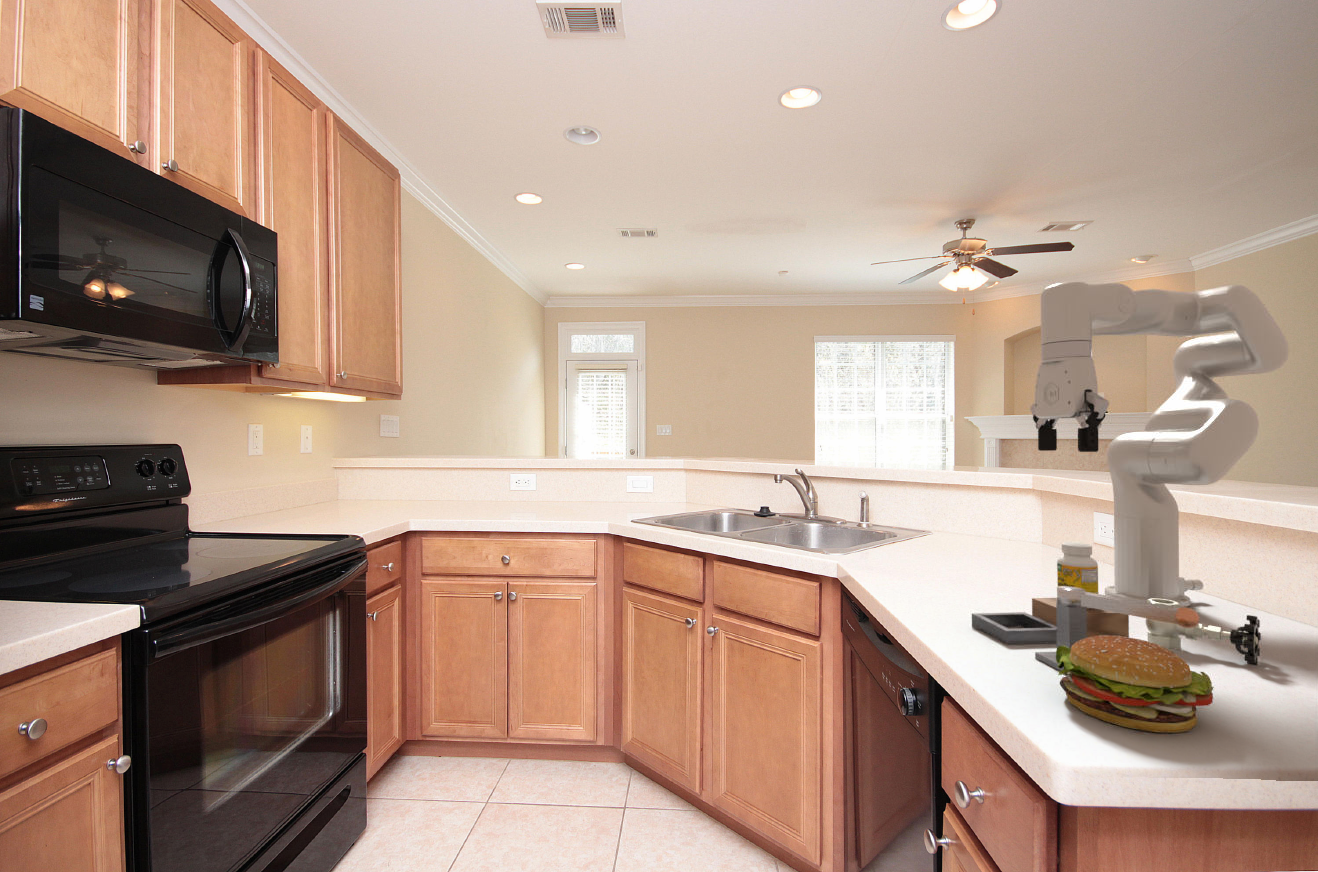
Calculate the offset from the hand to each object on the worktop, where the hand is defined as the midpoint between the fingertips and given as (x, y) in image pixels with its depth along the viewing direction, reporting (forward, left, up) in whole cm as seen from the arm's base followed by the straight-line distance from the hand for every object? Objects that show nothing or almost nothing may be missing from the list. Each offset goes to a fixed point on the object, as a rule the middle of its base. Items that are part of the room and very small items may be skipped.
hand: (1066, 451), depth 107 cm
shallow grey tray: (+17, +11, -28) cm, 35 cm away
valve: (-4, +21, -29) cm, 36 cm away
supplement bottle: (+6, +10, -24) cm, 27 cm away
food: (+21, +37, -29) cm, 51 cm away
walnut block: (+6, +10, -28) cm, 31 cm away
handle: (+15, +29, -20) cm, 38 cm away
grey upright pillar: (+18, +24, -28) cm, 41 cm away
